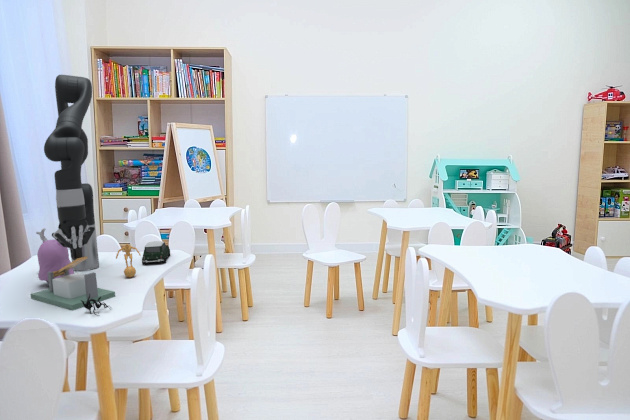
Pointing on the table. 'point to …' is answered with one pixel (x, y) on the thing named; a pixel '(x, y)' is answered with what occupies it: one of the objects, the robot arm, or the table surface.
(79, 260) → the strap
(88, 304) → the creature
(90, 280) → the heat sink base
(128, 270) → the figurine
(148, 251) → the miniature car
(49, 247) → the toy character
